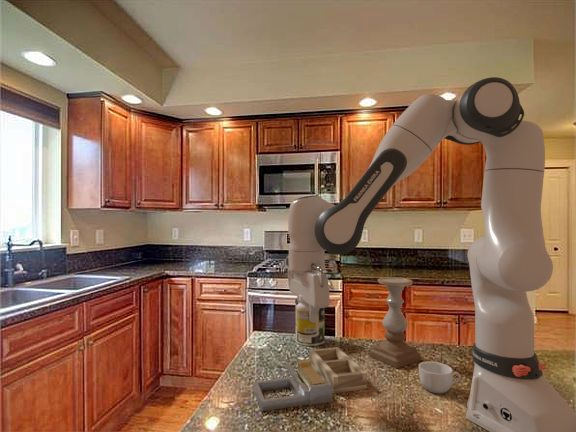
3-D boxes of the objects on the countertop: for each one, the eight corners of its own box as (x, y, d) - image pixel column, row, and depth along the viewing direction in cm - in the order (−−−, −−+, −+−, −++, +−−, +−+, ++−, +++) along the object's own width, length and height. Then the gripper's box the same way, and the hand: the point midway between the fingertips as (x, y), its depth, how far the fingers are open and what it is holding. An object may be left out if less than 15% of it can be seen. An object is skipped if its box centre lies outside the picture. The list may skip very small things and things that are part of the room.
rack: (366, 388, 88) (366, 372, 89) (333, 393, 86) (333, 377, 86) (337, 360, 106) (337, 347, 106) (309, 363, 103) (309, 350, 103)
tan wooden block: (325, 399, 83) (325, 379, 83) (313, 401, 82) (313, 380, 82) (308, 377, 95) (308, 359, 95) (297, 378, 94) (297, 360, 94)
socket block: (332, 401, 82) (332, 384, 82) (261, 412, 78) (261, 394, 78) (304, 365, 102) (304, 351, 102) (246, 372, 97) (246, 358, 97)
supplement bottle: (305, 329, 91) (305, 291, 91) (323, 333, 87) (322, 293, 88) (292, 335, 87) (291, 295, 87) (310, 339, 83) (310, 298, 83)
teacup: (424, 396, 85) (424, 373, 85) (414, 381, 93) (414, 360, 93) (467, 398, 84) (467, 375, 84) (454, 382, 92) (454, 362, 92)
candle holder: (368, 356, 109) (368, 278, 109) (392, 348, 115) (392, 275, 115) (397, 369, 100) (397, 284, 100) (421, 360, 106) (421, 280, 106)
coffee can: (323, 336, 128) (323, 296, 128) (326, 346, 117) (326, 304, 117) (294, 335, 128) (295, 296, 128) (294, 346, 117) (295, 303, 117)
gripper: (336, 266, 78) (337, 329, 78) (305, 257, 98) (306, 307, 98) (309, 268, 76) (310, 332, 76) (283, 258, 96) (284, 309, 96)
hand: (308, 318), depth 87 cm, fingers closed on supplement bottle, 5 cm apart
